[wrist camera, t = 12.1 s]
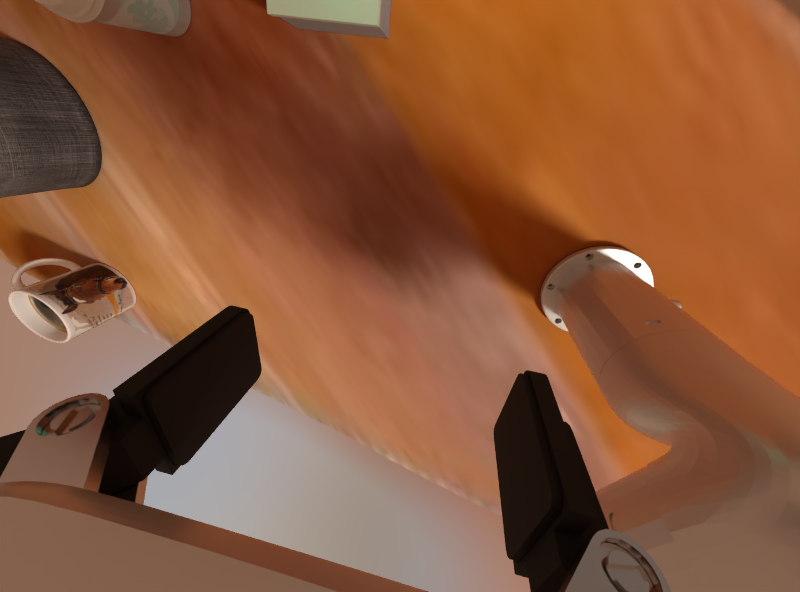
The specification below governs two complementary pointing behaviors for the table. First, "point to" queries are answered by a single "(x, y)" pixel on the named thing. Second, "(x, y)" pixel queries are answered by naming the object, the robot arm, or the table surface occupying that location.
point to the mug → (70, 299)
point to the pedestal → (335, 15)
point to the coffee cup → (127, 13)
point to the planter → (42, 127)
